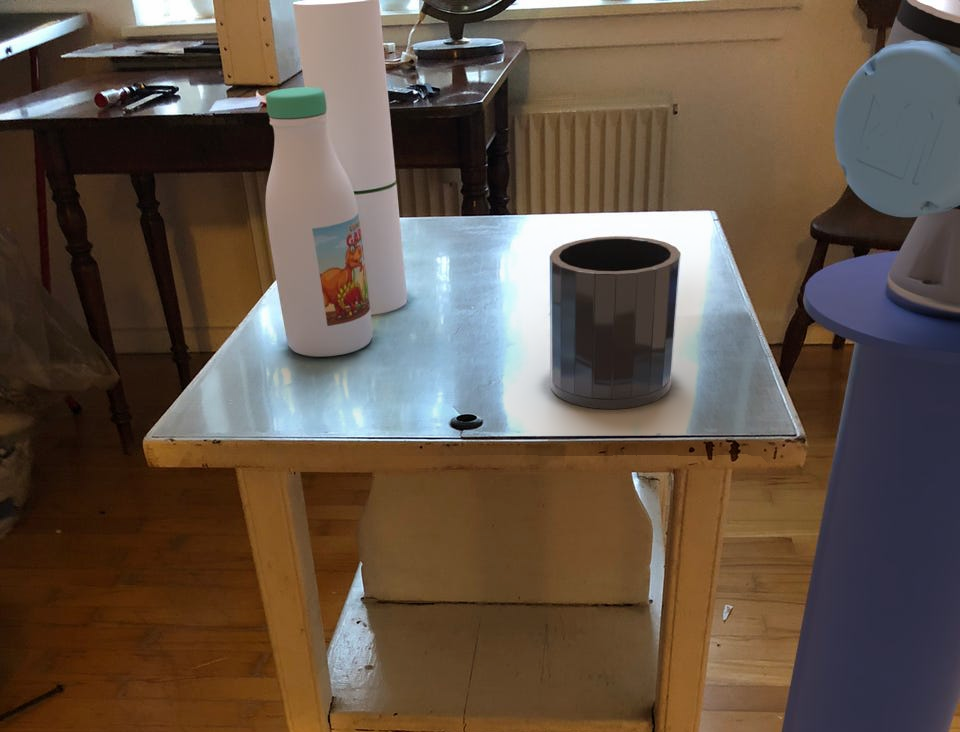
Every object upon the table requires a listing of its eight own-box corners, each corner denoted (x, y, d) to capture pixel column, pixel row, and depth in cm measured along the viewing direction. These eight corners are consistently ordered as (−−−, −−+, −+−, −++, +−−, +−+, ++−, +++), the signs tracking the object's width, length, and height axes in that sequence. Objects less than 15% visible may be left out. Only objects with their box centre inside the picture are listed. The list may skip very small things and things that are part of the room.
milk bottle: (299, 365, 84) (255, 102, 71) (279, 337, 89) (235, 89, 77) (384, 349, 86) (356, 91, 74) (360, 322, 91) (329, 79, 79)
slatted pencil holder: (675, 364, 80) (685, 237, 74) (664, 412, 73) (673, 275, 66) (562, 359, 82) (562, 235, 76) (540, 405, 75) (538, 272, 69)
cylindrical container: (381, 286, 100) (350, -5, 85) (421, 302, 95) (395, -3, 80) (321, 302, 97) (277, 3, 81) (359, 320, 92) (320, 5, 77)
